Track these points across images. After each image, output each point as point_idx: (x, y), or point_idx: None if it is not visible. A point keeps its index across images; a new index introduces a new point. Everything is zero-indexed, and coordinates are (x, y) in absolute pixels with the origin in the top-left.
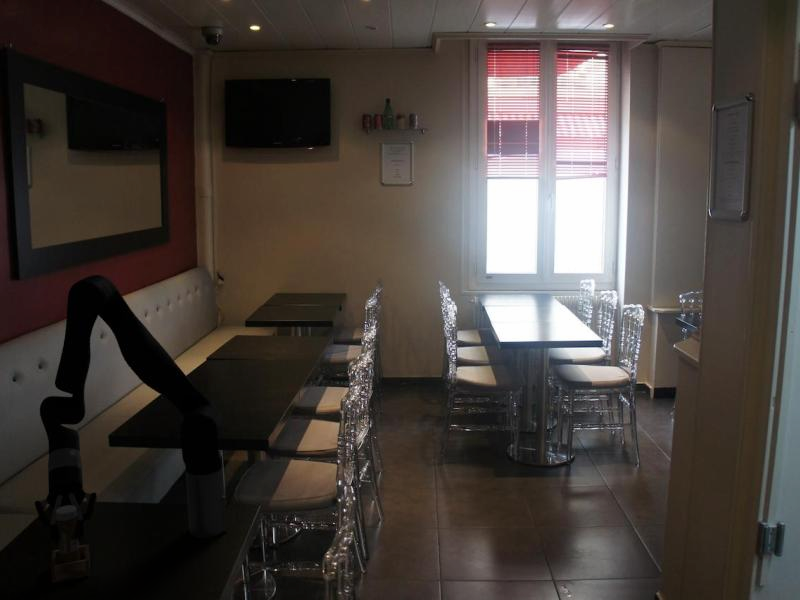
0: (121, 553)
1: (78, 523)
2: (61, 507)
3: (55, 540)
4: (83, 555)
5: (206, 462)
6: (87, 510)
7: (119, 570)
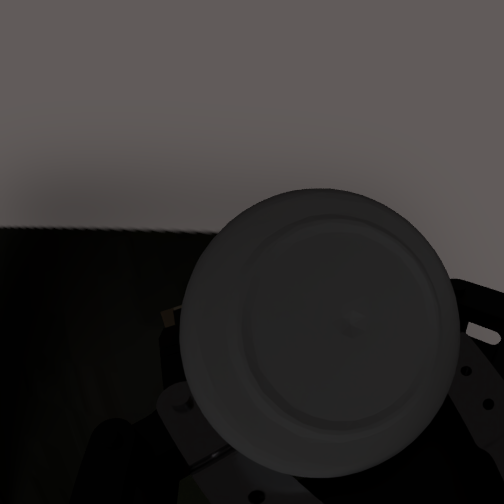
0: None
1: None
2: (433, 367)
3: None
4: None
5: None
6: (118, 471)
7: (92, 349)
